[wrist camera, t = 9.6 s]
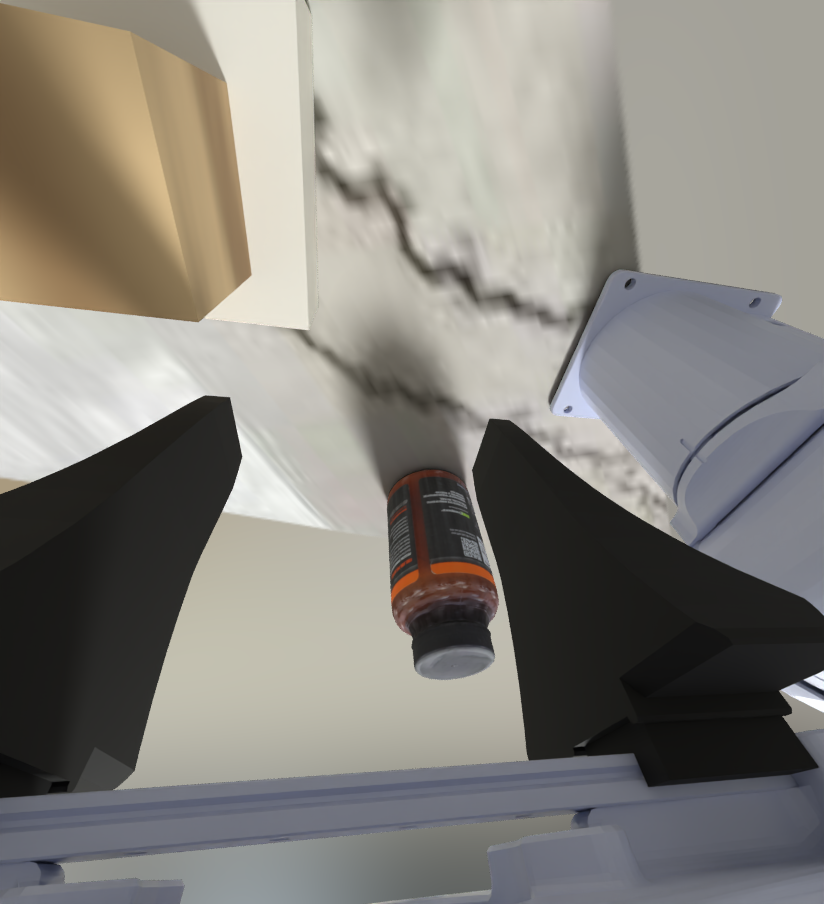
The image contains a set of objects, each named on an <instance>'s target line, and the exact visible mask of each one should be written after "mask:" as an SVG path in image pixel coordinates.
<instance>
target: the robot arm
mask: <svg viewBox="0 0 824 904" xmlns="http://www.w3.org/2000/svg"><path fill="white" fill-rule="evenodd" d="M630 278H631V283H630V284H629V286H627V287H626V288H625V287H624V286H625V283H626V282H627V280H629V279H630ZM753 299H754V300H753ZM752 300H753V302H752V303H751V304H750V302H751V301H752ZM781 302H782V297H781V296H780V295H778V294H775V293H769V292H763V291H757V290H750V289H744V288H737V287H731V286H725V285H718V284H712V283H706V282H699V281H693V280H687V279H680V278H674V277H667V276H661V275H655V274H648V273H642V272H636V271H629V270H623V269H621V270H617V271H615V272H613V273H612V274H611V275H610V276H609V278H608V279H607V282H606V284H605V286H604V288H603V290H602V293H601V295H600V297H599V299H598V301H597V304H596V306H595V308H594V310H593V312H592V315H591V317H590V319H589V321H588V323H587V326H586V328H585V330H584V332H583V334H582V337H581V339H580V341H579V343H578V345H577V348H576V350H575V352H574V354H573V356H572V359H571V361H570V363H569V365H568V367H567V370H566V372H565V374H564V376H563V378H562V381H561V383H560V385H559V387H558V389H557V392H556V394H555V396H554V398H553V400H552V403H551V405H550V410H551V412H552V413H553V414H554V415H557V416H569V417H580V418H592V419H601V420H602V421H603V422H604V423H605V425H606V426H607V427H608V428H609V429H610V430H611V431H612V433H613V434H614V435H615V436H616V437H617V438H618V439H619V441H620V442H621V443H622V444H623V445H624V446H625V447H626V449H627V450H628V451H629V452H630V453H631V454H632V455H633V457H634V458H635V459H636V460H637V461H638V462H639V464H640V465H641V466H642V467H643V468H644V469H645V470H646V472H647V473H648V474H649V475H650V476H651V477H652V478H653V480H654V481H655V482H656V483H657V484H658V485H659V486H660V488H661V489H662V490H663V491H664V492H665V493H666V494H667V496H668V497H669V498H670V499H671V500H672V501H673V502H674V504H675V505H676V506H677V507H678V510H677V512H676V514H675V516H674V517H673V519H672V520H671V521H670V524H671V526H672V527H673V528H674V529H675V530H676V532H677V533H678V534H679V535H680V537H681V538H682V539H683V540H684V542H685V543H686V544H685V543H683V542H681V541H679V540H677V539H675V538H673V537H671V536H670V535H668V534H666V533H664V532H663V531H661V530H659V529H657V528H655V527H654V526H652V525H650V524H648V523H647V522H645V521H643V520H642V519H640V518H638V517H637V516H635V515H633V514H632V513H630V512H628V511H627V510H625V509H624V508H622V507H621V506H619V505H618V504H616V503H615V502H613V501H612V500H610V499H609V498H607V497H606V496H604V495H603V494H601V493H600V492H598V491H597V490H596V489H594V488H593V487H591V486H590V485H589V484H588V483H586V482H585V481H584V480H582V479H581V478H580V477H578V476H577V475H576V474H574V473H573V472H572V471H571V470H569V469H568V468H567V467H566V466H564V465H563V464H562V463H561V462H559V461H558V460H557V459H556V458H555V457H553V456H552V455H551V454H550V453H549V452H547V451H546V450H545V449H544V448H543V447H542V446H540V445H539V444H538V443H537V442H536V441H535V440H533V439H532V438H531V437H530V436H529V435H528V434H526V433H525V432H524V431H523V430H522V429H520V428H519V427H518V426H517V425H515V424H514V423H513V422H511V421H510V420H501V419H489V422H488V425H487V428H486V431H485V434H484V437H483V440H482V443H481V446H480V449H479V452H478V455H477V458H476V461H475V463H474V466H473V469H472V472H473V479H474V486H475V491H476V497H477V501H478V505H479V508H480V511H481V514H482V518H483V521H484V524H485V527H486V530H487V534H488V537H489V540H490V543H491V546H492V549H493V553H494V556H495V559H496V562H497V566H498V569H499V573H500V577H501V581H502V586H503V591H504V596H505V601H506V606H507V611H508V617H509V622H510V628H511V634H512V640H513V646H514V652H515V659H516V666H517V673H518V680H519V687H520V694H521V703H522V712H523V720H524V728H525V739H526V749H527V755H528V759H529V761H519V762H518V761H517V762H503V763H489V764H476V765H462V766H448V767H433V768H419V769H406V770H391V771H377V772H363V773H349V774H336V775H321V776H307V777H293V778H278V779H264V780H250V781H236V782H222V783H208V784H194V785H181V786H167V787H152V788H138V789H124V790H113V789H115V788H117V787H118V786H119V785H120V784H121V783H123V782H124V781H125V780H126V779H127V778H128V777H129V776H130V775H131V774H132V773H133V772H134V771H135V766H136V763H137V759H138V754H139V750H140V746H141V742H142V739H143V735H144V731H145V727H146V723H147V720H148V716H149V711H150V708H151V704H152V700H153V697H154V693H155V690H156V687H157V683H158V680H159V676H160V673H161V670H162V666H163V663H164V659H165V656H166V652H167V649H168V646H169V643H170V640H171V637H172V634H173V631H174V627H175V624H176V621H177V618H178V615H179V612H180V609H181V606H182V603H183V600H184V597H185V594H186V592H187V589H188V586H189V583H190V580H191V577H192V575H193V572H194V570H195V568H196V565H197V563H198V561H199V558H200V556H201V554H202V552H203V550H204V548H205V546H206V544H207V541H208V539H209V537H210V535H211V533H212V531H213V529H214V527H215V525H216V523H217V521H218V518H219V517H220V514H221V512H222V510H223V508H224V506H225V504H226V502H227V500H228V497H229V495H230V493H231V491H232V489H233V486H234V483H235V480H236V477H237V473H238V470H239V466H240V463H241V459H242V453H241V448H240V443H239V439H238V434H237V429H236V424H235V419H234V415H233V410H232V405H231V400H230V397H218V396H206V395H205V396H203V397H201V398H199V399H197V400H195V401H193V402H191V403H189V404H187V405H185V406H184V407H182V408H180V409H178V410H177V411H175V412H173V413H171V414H169V415H168V416H166V417H164V418H162V419H161V420H159V421H157V422H155V423H153V424H152V425H150V426H148V427H146V428H144V429H143V430H141V431H139V432H137V433H135V434H134V435H132V436H130V437H128V438H126V439H124V440H122V441H120V442H118V443H116V444H114V445H112V446H110V447H108V448H106V449H104V450H102V451H100V452H98V453H96V454H94V455H92V456H91V457H88V458H86V459H84V460H82V461H80V462H78V463H76V464H73V465H71V466H69V467H67V468H64V469H62V470H60V471H58V472H55V473H53V474H50V475H48V476H46V477H43V478H41V479H39V480H36V481H34V482H31V483H29V484H27V485H24V486H21V487H19V488H16V489H14V490H11V491H8V492H5V493H3V494H0V904H180V901H181V897H182V894H183V890H184V883H183V881H182V880H140V879H137V878H129V879H117V880H104V881H91V882H78V883H66V884H65V882H64V877H65V875H64V870H63V869H62V867H61V866H60V865H57V864H61V863H70V862H81V861H92V860H102V859H112V858H122V857H132V856H143V855H153V854H163V853H174V852H184V851H195V850H205V849H214V848H226V847H236V846H246V845H257V844H266V843H277V842H286V841H298V840H307V839H318V838H328V837H339V836H349V835H360V834H370V833H380V832H390V831H401V830H411V829H421V828H432V827H441V826H452V825H462V824H473V823H483V822H493V821H504V820H514V819H523V818H535V817H545V816H555V815H566V814H575V815H574V817H573V819H572V821H571V830H567V831H560V832H553V833H546V834H539V835H532V836H525V837H523V838H521V839H520V840H516V841H512V842H508V843H503V844H498V845H493V846H489V849H488V851H487V856H488V862H489V868H490V875H491V881H492V888H491V890H484V891H475V892H466V893H458V894H448V895H440V896H431V897H422V898H413V899H405V900H395V901H387V902H379V903H370V904H824V729H817V730H809V731H804V732H798V733H794V732H793V730H792V729H791V728H790V726H789V725H788V724H787V722H786V721H785V720H784V718H783V717H782V716H786V715H789V714H791V713H792V708H791V707H790V706H789V704H788V703H787V701H786V700H785V699H784V697H783V696H782V695H781V693H780V692H779V690H782V691H783V692H785V693H787V694H788V695H790V696H792V697H794V698H796V699H798V700H800V701H802V702H804V703H806V704H808V705H810V706H811V707H813V708H816V709H818V710H820V711H822V712H824V339H823V338H821V337H818V336H816V335H813V334H811V333H808V332H805V331H803V330H800V329H798V328H795V327H793V326H790V325H788V324H785V323H783V322H780V321H777V320H775V319H772V318H771V316H772V315H773V314H774V313H775V311H776V310H777V309H778V307H779V306H780V304H781ZM567 406H569V408H568V409H566V410H564V409H565V407H567ZM576 813H578V814H576Z"/></svg>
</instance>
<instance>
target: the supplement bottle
mask: <svg viewBox="0 0 824 904" xmlns="http://www.w3.org/2000/svg"><path fill="white" fill-rule="evenodd" d="M387 515H388V537H389V558H390V559H389V561H390V580H391V581H390V583H391V603H392V613H393V617H394V619H395V622H396V623H397V625H398V626H399V628H400V629H401V630H403V631H404V632H405V633H407V634H409V635H411V636H412V637H413V641H412V649H413V656H414V667H415V670H416V672H417V673H418V674H420V675H421V676H423V677H426V678H429V679H438V680H449V679H457V678H463V677H467V676H471V675H474V674H477V673H479V672H481V671H483V670H485V669H487V668H488V667H489V666H490V665H491V664H492V663H493V662H494V659H495V654H494V650H493V646H492V642H491V637H490V636H491V633H490V631H489V630H488V629H487V627H488V624H489V622H490V621H491V620H492V619H493V618H494V617H495V614H496V612H497V608H498V605H499V599H498V594H497V589H496V586H495V582H494V579H493V575H492V571H491V568H490V565H489V561H488V558H487V554H486V551H485V547H484V544H483V540H482V537H481V534H480V530H479V527H478V523H477V520H476V516H475V512H474V509H473V506H472V502H471V499H470V496H469V493H468V490H467V488H466V486H465V484H464V482H463V481H462V480H461V479H459V478H458V477H457V476H455V475H454V474H452V473H449V472H446V471H442V470H431V469H430V470H423V471H418V472H415V473H412V474H409V475H407V476H405V477H404V478H402V479H401V480H400V481H398V482H397V483H396V484H395V485H394V487H393V488H392V489H391V491H390V493H389V496H388V502H387Z"/></svg>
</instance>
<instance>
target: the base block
mask: <svg viewBox="0 0 824 904" xmlns="http://www.w3.org/2000/svg"><path fill="white" fill-rule="evenodd" d="M0 3H2V4H7V5H12V6H16V7H21V8H25V9H30V10H34V11H39V12H44V13H48V14H53V15H57V16H62V17H66V18H71V19H75V20H80V21H85V22H89V23H94V24H98V25H103V26H107V27H112V28H117V29H121V30H126V31H130V32H132V33H134V34H136V35H138V36H140V37H141V38H143V39H145V40H147V41H149V42H151V43H153V44H155V45H156V46H158V47H160V48H162V49H164V50H166V51H168V52H169V53H171V54H173V55H175V56H177V57H179V58H181V59H183V60H184V61H186V62H188V63H190V64H192V65H194V66H196V67H197V68H199V69H201V70H203V71H205V72H207V73H209V74H211V75H212V76H214V77H216V78H218V79H220V80H222V81H224V82H226V83H227V88H228V96H229V104H230V111H231V119H232V127H233V134H234V142H235V150H236V157H237V165H238V173H239V181H240V188H241V196H242V204H243V211H244V219H245V227H246V234H247V242H248V250H249V258H250V265H251V273H252V276H250V277H249V278H248V279H247V280H246V281H245V282H244V283H242V284H241V285H240V286H239V287H238V288H237V289H236V290H235V291H233V292H232V293H231V294H230V295H229V296H228V297H227V298H225V299H224V300H223V301H222V302H221V303H220V304H219V305H217V306H216V307H215V308H214V309H213V310H212V311H211V312H210V313H208V314H207V315H206V316H205V317H204V318H205V319H214V320H223V321H232V322H241V323H250V324H259V325H268V326H277V327H286V328H294V329H303V330H309V329H310V326H311V324H312V321H313V319H314V317H315V314H316V312H317V310H318V264H317V219H316V175H315V131H314V86H313V42H312V15H311V13H310V11H309V9H308V6H307V4H306V2H305V0H0Z"/></svg>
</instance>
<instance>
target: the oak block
mask: <svg viewBox="0 0 824 904" xmlns="http://www.w3.org/2000/svg"><path fill="white" fill-rule="evenodd" d="M250 276H252V273H251V265H250V258H249V250H248V242H247V234H246V227H245V219H244V211H243V204H242V196H241V188H240V181H239V173H238V165H237V157H236V150H235V142H234V134H233V127H232V119H231V111H230V104H229V96H228V88H227V83H226V82H224V81H222V80H220V79H218V78H216V77H214V76H212V75H211V74H209V73H207V72H205V71H203V70H201V69H199V68H197V67H196V66H194V65H192V64H190V63H188V62H186V61H184V60H183V59H181V58H179V57H177V56H175V55H173V54H171V53H169V52H168V51H166V50H164V49H162V48H160V47H158V46H156V45H155V44H153V43H151V42H149V41H147V40H145V39H143V38H141V37H140V36H138V35H136V34H134V33H132V32H130V31H126V30H121V29H117V28H112V27H107V26H103V25H98V24H94V23H89V22H85V21H80V20H75V19H71V18H66V17H62V16H57V15H53V14H48V13H44V12H39V11H34V10H30V9H25V8H21V7H16V6H12V5H7V4H2V3H0V300H2V301H11V302H20V303H29V304H38V305H47V306H56V307H65V308H75V309H84V310H93V311H102V312H111V313H120V314H129V315H138V316H147V317H156V318H165V319H174V320H183V321H192V322H199V321H200V320H202V319H203V318H204V317H205V316H206V315H207V314H208V313H210V312H211V311H212V310H213V309H214V308H215V307H216V306H217V305H219V304H220V303H221V302H222V301H223V300H224V299H225V298H227V297H228V296H229V295H230V294H231V293H232V292H233V291H235V290H236V289H237V288H238V287H239V286H240V285H241V284H242V283H244V282H245V281H246V280H247V279H248V278H249V277H250Z"/></svg>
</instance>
